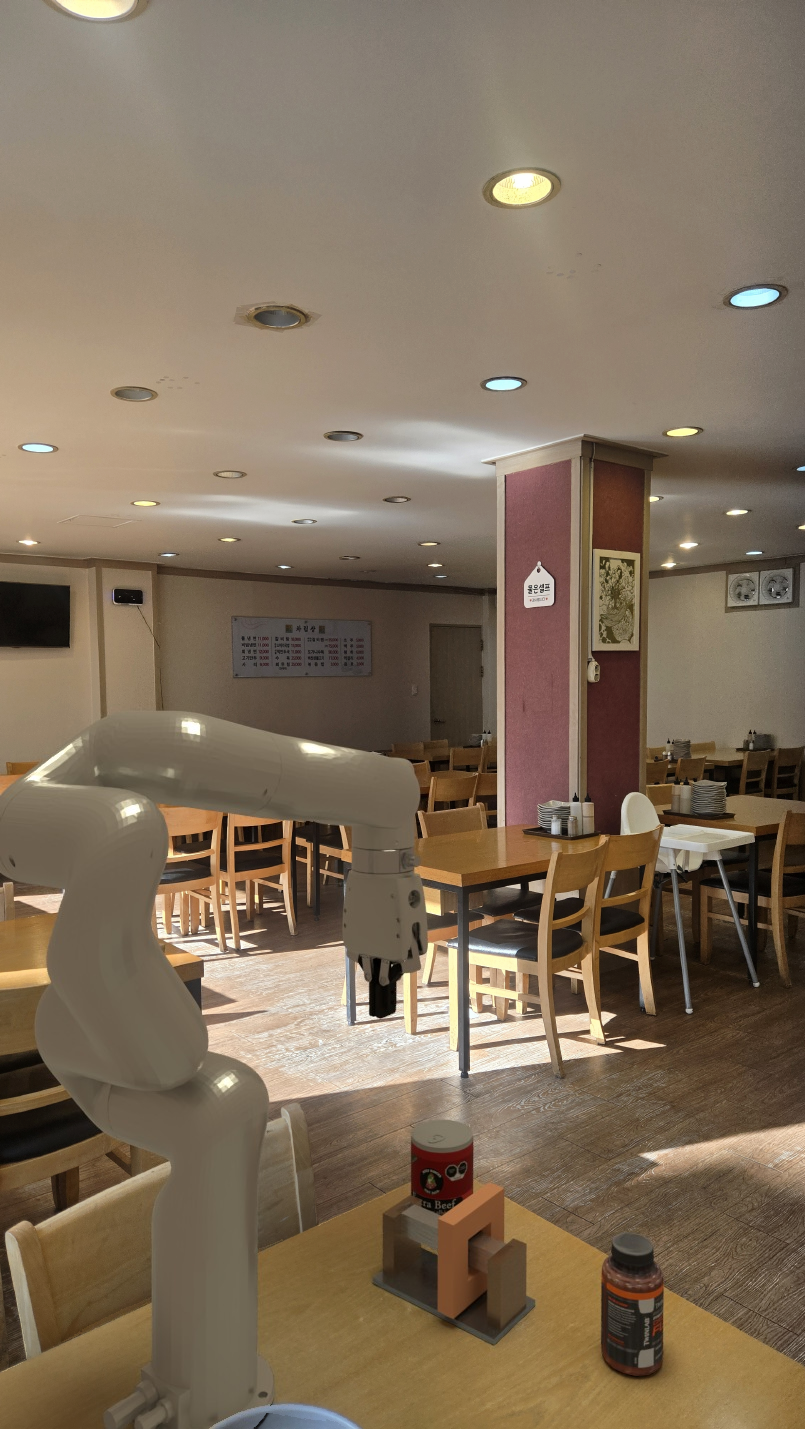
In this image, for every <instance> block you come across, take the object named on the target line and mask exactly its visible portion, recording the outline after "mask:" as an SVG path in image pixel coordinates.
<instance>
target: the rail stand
mask: <svg viewBox="0 0 805 1429" xmlns="http://www.w3.org/2000/svg"><path fill="white" fill-rule="evenodd" d="M440 1217H441V1215H438V1214H436V1213H434V1212H431V1211H429V1210H427V1209H424V1208H422V1207H421V1199H419V1198H416V1197H414V1196H411V1194H410V1195H408V1196H407V1197H405V1198H404V1199H402V1200H401V1201H399V1202H397V1203H396V1204H394V1205H393V1206H392V1207H390V1208H389V1209H387V1210H385V1211H384V1212H383V1213H382V1270H380V1271H379V1272H378V1273H377V1274H376V1275H373V1277H371V1278H372V1284H374V1285H376V1286H377V1287H380V1288H381V1289H383V1290H385V1291H387V1292H389V1293H391V1294H393V1295H395V1296H397V1297H399V1298H401V1299H403V1300H405V1301H406V1302H408V1303H410V1304H412V1305H415V1306H417V1307H419V1308H420V1309H422V1310H424V1311H426V1312H429V1313H430V1314H432V1315H434V1316H436V1317H437V1318H440V1319H442V1320H444V1321H446V1322H448V1323H449V1324H451V1325H453V1326H456V1327H458V1328H459V1329H461V1330H463V1331H465V1332H467V1333H469V1334H471V1335H472V1336H475V1337H477V1338H479V1339H481V1340H483V1341H485V1342H487V1343H489V1344H491V1345H493V1346H495V1345H496V1344H497V1343H499V1341H500V1340H502V1338H503V1337H505V1335H507V1334H508V1332H510V1330H511V1329H512V1328H513V1327H515V1326H516V1325H517V1324H518V1323H519V1322H520V1321H521V1320H522V1319H523V1318H524V1317H525V1316H527V1314H529V1312H531V1310H533V1308H534V1307H536V1299H534V1298H532V1297H530V1296H528V1295H527V1243H526V1242H524V1241H522V1240H519V1239H516V1238H512V1239H511V1240H509V1242H507V1243H506V1242H505V1241H504V1242H502V1241H499V1240H497V1239H495V1238H492V1237H490V1236H488V1235H485V1234H483V1231H481V1230H480V1231H479V1232H477V1233H476V1234H475V1235H473V1236H472V1237H471V1238H469V1239H468V1267H470V1266H471V1267H473V1268H475V1269H478V1270H480V1271H482V1272H484V1273H486V1274H487V1290H486V1291H485V1292H484V1293H483V1294H482V1295H480V1296H479V1297H478V1298H477V1299H476V1300H475V1301H473V1302H472V1303H471V1304H470V1305H469V1306H468V1307H467V1308H465V1309H464V1310H463V1311H462V1312H461V1313H460V1314H459V1315H457V1316H456V1317H455V1318H454V1319H452V1318H450V1317H448V1316H446V1315H444V1314H442V1313H440V1312H438V1253H437V1254H436V1253H434V1252H432V1251H430V1250H427V1249H425V1248H423V1247H422V1245H423V1246H425V1247H428V1248H430V1249H432V1250H433V1251H437V1252H438V1218H440Z"/></svg>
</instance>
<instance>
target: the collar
mask: <svg viewBox="0 0 805 1429" xmlns="http://www.w3.org/2000/svg"><path fill="white" fill-rule="evenodd" d="M480 1230H481V1231H483V1234H485V1235H488V1236H490V1237H492V1238H495V1239H497V1240H499V1241H502V1242H504V1243H505V1187H503V1186H500V1185H498V1184H496V1183H495V1184H494V1183H493V1182H490V1181H489V1182H487V1183H486V1184H484V1185H483V1186H481V1187H480V1188H479V1189H478V1190H476V1191H475V1192H473V1194H472V1195H471V1196H469V1197H468V1198H466V1199H465V1200H463V1201H462V1202H461V1203H459V1204H458V1205H456V1206H455V1207H454V1208H452V1209H451V1210H449V1211H448V1212H447V1213H445V1214H444V1215H442V1216H441V1217H440V1218H438V1251H437V1255H438V1312H440V1313H442V1314H444V1315H446V1316H448V1317H450V1318H452V1319H454V1318H455V1317H456V1316H457V1315H459V1314H460V1313H461V1312H462V1311H463V1310H464V1309H465V1308H467V1307H468V1306H469V1305H470V1304H471V1303H472V1302H473V1301H475V1300H476V1299H477V1298H478V1297H479V1296H480V1295H482V1294H483V1293H484V1292H485V1291H486V1290H487V1274H486V1273H484V1272H482V1271H480V1270H478V1269H475V1268H473V1267H471V1266H470V1267H468V1239H469V1238H471V1237H472V1236H473V1235H475V1234H476V1233H477V1232H479V1231H480Z"/></svg>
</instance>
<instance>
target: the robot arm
mask: <svg viewBox="0 0 805 1429" xmlns="http://www.w3.org/2000/svg"><path fill="white" fill-rule="evenodd" d="M420 801H421V789H420V784H419V780H418V778H417V776H416V774H415V768H414V765H413V764H412V762H411V761H410V760H408V759H406V758H401V757H389V756H386V755H383V754H379V753H374V752H372V751H371V752H370V751H366V750H360V749H355V748H349V747H345V746H338V745H333V744H329V743H323V742H318V741H315V740H311V739H307V738H300V737H294V736H289V735H283V734H279V733H274V732H271V731H267V730H263V729H259V728H255V727H251V726H248V725H244V724H240V723H236V722H232V721H229V720H225V719H223V718H222V719H221V718H219V717H214V716H210V715H208V714H207V715H206V714H204V713H199V712H193V711H185V710H121V711H117V712H113V713H111V714H109V715H107V716H104V717H102V718H100V719H98V720H97V721H95V722H93V723H92V724H90V725H88V726H87V727H86V728H84V729H83V730H81V731H80V732H79V733H77V734H75V736H73V737H71V738H70V739H69V740H68V741H66V742H65V743H64V744H62V745H61V746H60V747H59V748H57V749H56V750H55V751H53V752H52V753H50V754H49V755H48V756H47V757H45V758H44V759H42V760H41V761H40V762H39V763H37V764H36V765H35V766H33V767H32V768H30V769H29V770H27V772H25V773H24V774H23V775H22V776H20V777H19V778H17V779H16V780H15V781H14V782H13V783H11V784H10V785H9V786H7V787H6V789H5V790H4V791H2V793H1V794H0V874H2V875H3V876H4V877H6V878H8V879H10V880H12V881H16V882H17V883H23V884H27V885H34V886H41V887H46V888H47V887H48V888H55V889H60V890H65V891H64V893H63V896H62V898H61V901H60V904H59V908H58V911H57V914H56V916H55V917H56V918H55V920H54V923H53V924H54V925H53V928H52V931H51V935H50V938H49V940H48V945H47V949H46V959H45V960H46V972H47V974H48V975H47V976H48V978H49V980H50V983H49V984H48V985H47V987H45V990H44V991H43V993H42V994H41V996H40V999H39V1001H38V1003H37V1007H36V1011H35V1015H34V1037H35V1038H34V1039H35V1042H36V1046H37V1050H38V1053H39V1055H40V1057H41V1059H42V1061H43V1062H44V1064H45V1065H46V1067H47V1068H48V1070H49V1071H50V1073H52V1075H53V1077H55V1078H56V1079H57V1081H58V1082H59V1084H61V1086H62V1087H63V1089H64V1090H65V1091H66V1092H67V1093H68V1094H69V1096H70V1097H71V1098H72V1100H73V1101H74V1102H75V1103H76V1105H77V1106H78V1107H79V1108H80V1109H81V1110H82V1111H83V1113H84V1114H85V1115H86V1116H87V1118H88V1119H89V1120H90V1121H91V1122H92V1123H93V1124H94V1125H95V1126H96V1127H97V1128H98V1129H100V1130H101V1132H103V1133H104V1134H106V1135H107V1136H108V1137H111V1138H113V1139H115V1140H118V1141H119V1142H122V1143H125V1144H127V1145H130V1146H134V1147H136V1148H139V1149H141V1150H145V1151H148V1152H151V1153H153V1154H154V1155H157V1156H160V1157H162V1158H164V1159H166V1160H167V1161H168V1162H169V1164H170V1171H169V1172H170V1173H169V1176H168V1178H167V1179H166V1181H165V1183H164V1185H162V1187H161V1189H160V1190H159V1193H158V1194H157V1197H156V1198H155V1200H154V1203H153V1209H152V1214H151V1226H150V1227H151V1232H150V1233H151V1360H150V1361H149V1362H148V1363H146V1364H144V1365H143V1366H142V1367H141V1370H140V1372H141V1373H140V1374H141V1376H140V1377H141V1378H140V1381H139V1383H138V1384H137V1385H135V1387H134V1388H133V1390H132V1394H130V1395H129V1396H127V1397H126V1398H122V1399H121V1400H120V1401H118V1402H116V1403H115V1404H113V1405H112V1406H110V1407H109V1408H108V1409H106V1410H105V1411H104V1412H103V1415H102V1418H103V1419H102V1420H103V1426H104V1428H105V1429H124V1428H126V1427H127V1426H129V1425H130V1424H131V1423H132V1422H133V1421H134V1425H133V1426H134V1429H209V1428H210V1427H212V1426H213V1425H214V1424H216V1423H218V1422H220V1421H222V1420H224V1419H226V1418H228V1417H230V1416H232V1415H234V1414H236V1413H238V1412H241V1411H245V1410H247V1409H251V1408H255V1407H259V1406H265V1405H268V1404H272V1405H273V1402H274V1401H273V1400H274V1399H275V1398H274V1397H275V1375H274V1372H273V1369H272V1368H271V1366H270V1364H269V1363H268V1361H267V1360H266V1358H264V1357H263V1356H262V1355H261V1354H260V1353H258V1306H259V1305H258V1303H259V1302H258V1298H259V1297H258V1294H259V1293H258V1283H259V1282H258V1276H259V1275H258V1272H259V1271H258V1270H259V1267H258V1265H259V1264H258V1263H259V1260H258V1258H259V1257H258V1256H259V1255H258V1254H259V1251H258V1250H259V1249H258V1248H259V1247H258V1245H259V1244H258V1239H259V1236H258V1233H259V1232H258V1231H259V1225H258V1213H259V1212H258V1210H259V1209H258V1207H259V1206H258V1205H259V1204H258V1203H259V1201H258V1200H259V1181H260V1180H259V1179H260V1169H261V1168H260V1167H261V1159H262V1155H263V1154H262V1153H263V1149H264V1141H265V1138H266V1132H267V1127H268V1121H269V1115H270V1095H269V1091H268V1088H267V1085H266V1083H265V1081H264V1079H263V1078H262V1077H261V1075H259V1073H258V1072H257V1071H256V1070H255V1069H254V1068H252V1067H251V1066H250V1065H248V1064H246V1063H245V1062H244V1061H243V1062H242V1061H241V1060H240V1059H236V1058H235V1057H231V1056H228V1055H226V1054H221V1053H218V1052H214V1051H210V1050H209V1044H210V1043H209V1042H210V1040H209V1031H208V1027H207V1022H206V1019H205V1017H204V1014H203V1012H202V1010H201V1008H200V1006H199V1005H198V1003H197V1001H196V1000H195V998H194V997H193V995H192V994H191V992H190V991H189V989H188V988H187V986H186V985H185V983H184V982H183V980H182V979H181V977H180V974H178V973H177V971H176V969H175V968H174V966H173V965H172V963H171V961H170V960H169V959H168V957H167V955H166V954H165V952H164V951H163V949H162V947H161V945H160V943H159V941H158V939H157V938H156V935H155V932H154V930H153V923H152V922H153V911H154V906H155V902H156V897H157V893H158V889H159V886H160V883H161V881H162V877H163V875H164V872H165V868H166V865H167V861H168V856H169V851H170V834H169V828H168V825H167V821H166V818H165V816H164V815H163V812H162V811H161V809H160V808H159V806H158V805H166V806H174V807H181V808H182V807H183V808H190V809H196V810H202V811H203V810H204V811H209V812H210V811H212V812H217V813H225V814H232V815H238V816H245V817H250V818H258V819H268V820H269V819H271V820H279V821H287V822H288V821H290V822H291V821H293V822H295V821H296V822H299V821H300V822H303V821H305V822H308V821H309V822H310V821H313V822H314V823H318V824H321V825H330V826H343V827H351V870H349V871H348V874H347V878H346V884H345V890H344V897H343V898H344V899H343V907H342V908H343V910H342V941H343V946H344V947H345V949H346V952H345V954H346V957H347V958H348V959H349V960H351V961H352V962H354V963H357V964H358V965H359V967H360V968H361V970H362V972H363V978H364V980H365V982H367V983H368V1015H369V1016H370V1017H376V1018H377V1019H384V1018H386V1017H389V1016H392V1015H394V1014H396V1012H397V999H398V997H397V996H398V995H397V994H398V993H397V991H398V989H397V988H398V987H397V986H398V985H397V982H399V981H401V980H402V976H404V974H413V973H415V972H418V971H420V970H422V964H421V957H422V956H423V955H425V954H427V951H428V947H429V946H428V944H429V938H428V936H429V935H428V930H429V929H428V918H427V907H426V906H427V905H426V898H425V891H424V886H423V882H422V878H421V874H420V873H417V872H415V868H418V867H420V865H421V862H422V860H421V857H420V856H419V855H415V850H416V849H415V830H416V829H415V824H416V823H415V820H416V819H415V815H416V814H417V812H418V809H419V805H420ZM420 956H421V957H420Z"/></svg>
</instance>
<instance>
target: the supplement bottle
mask: <svg viewBox="0 0 805 1429" xmlns="http://www.w3.org/2000/svg"><path fill="white" fill-rule="evenodd" d="M610 1252H611V1254H610V1255H608V1256H607V1257H606V1258H605V1259H604V1260H603V1263H602V1266H601V1275H600V1276H601V1280H600V1281H601V1284H600V1285H601V1286H600V1288H601V1290H600V1291H601V1294H600V1304H601V1305H600V1309H601V1311H600V1314H601V1315H600V1321H601V1322H600V1345H601V1346H600V1348H601V1353H602V1356H603V1358H604V1360H605V1361H606V1362H607V1364H608V1365H609V1366H610V1367H612V1368H613V1369H615V1370H616V1371H619V1372H621V1373H622V1374H625V1375H629V1376H630V1375H631V1376H639V1377H641V1376H649V1375H651V1374H654V1373H655V1372H656V1371H658V1370H659V1369H660V1367H661V1365H662V1363H663V1358H664V1306H665V1304H664V1297H665V1296H664V1294H665V1292H664V1287H665V1286H664V1280H665V1279H664V1273H663V1271H662V1267H661V1266H660V1265H659V1263H657V1261H655V1260H654V1259H655V1255H654V1244H653V1242H652V1241H651V1240H650V1239H649V1238H648V1237H646V1236H644V1235H642V1234H639V1233H635V1232H620V1233H618V1234H616V1235H614V1236H613V1238H612V1240H611V1249H610Z"/></svg>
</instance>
